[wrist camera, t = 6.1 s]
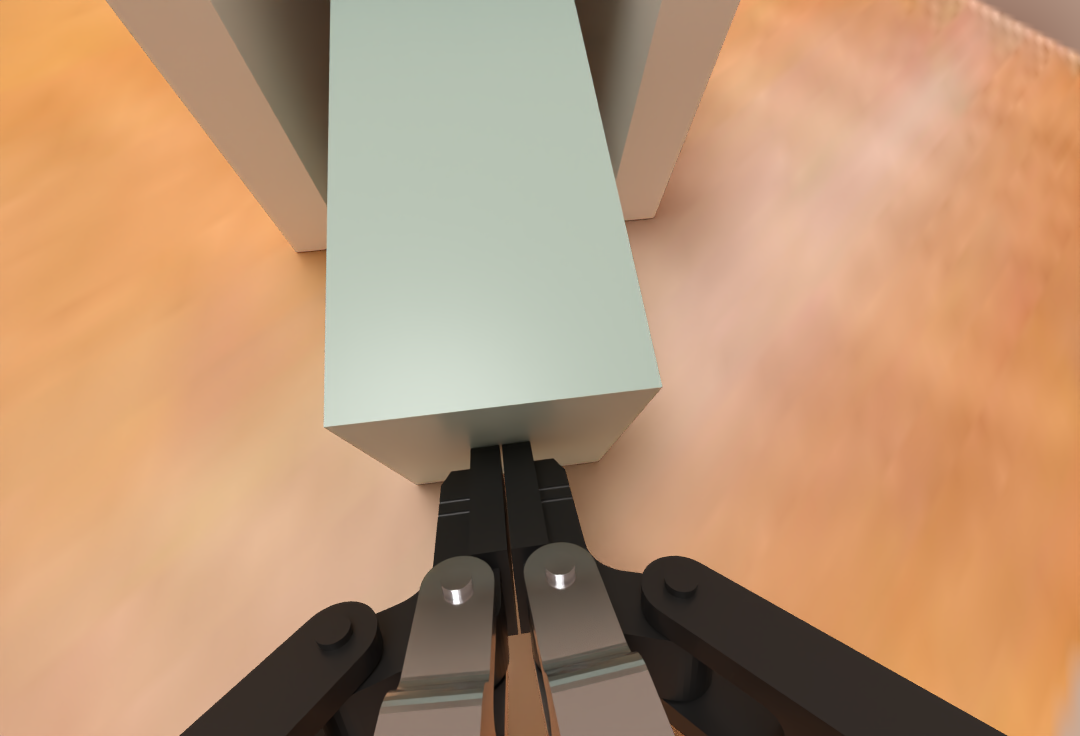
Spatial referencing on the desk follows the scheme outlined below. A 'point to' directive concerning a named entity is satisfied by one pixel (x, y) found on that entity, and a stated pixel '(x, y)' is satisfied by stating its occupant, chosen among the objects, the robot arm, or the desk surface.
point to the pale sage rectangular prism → (474, 240)
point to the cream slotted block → (303, 89)
